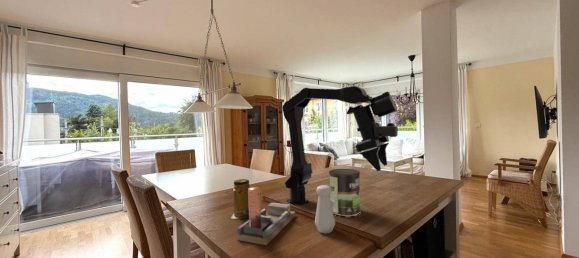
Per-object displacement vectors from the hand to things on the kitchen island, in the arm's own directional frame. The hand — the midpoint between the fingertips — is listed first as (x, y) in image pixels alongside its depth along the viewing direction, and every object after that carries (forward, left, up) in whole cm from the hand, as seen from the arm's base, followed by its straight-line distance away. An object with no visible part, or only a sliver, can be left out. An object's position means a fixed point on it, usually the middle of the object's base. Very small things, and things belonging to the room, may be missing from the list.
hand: (382, 167), depth 82 cm
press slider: (-12, -39, -14) cm, 43 cm away
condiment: (-29, -36, -16) cm, 49 cm away
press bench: (-16, -33, -16) cm, 40 cm away
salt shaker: (-3, -22, -16) cm, 27 cm away
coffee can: (-10, -7, -16) cm, 20 cm away
